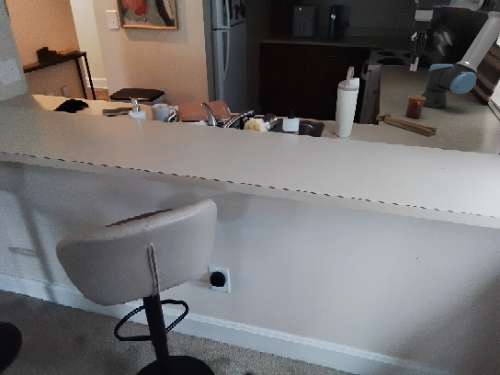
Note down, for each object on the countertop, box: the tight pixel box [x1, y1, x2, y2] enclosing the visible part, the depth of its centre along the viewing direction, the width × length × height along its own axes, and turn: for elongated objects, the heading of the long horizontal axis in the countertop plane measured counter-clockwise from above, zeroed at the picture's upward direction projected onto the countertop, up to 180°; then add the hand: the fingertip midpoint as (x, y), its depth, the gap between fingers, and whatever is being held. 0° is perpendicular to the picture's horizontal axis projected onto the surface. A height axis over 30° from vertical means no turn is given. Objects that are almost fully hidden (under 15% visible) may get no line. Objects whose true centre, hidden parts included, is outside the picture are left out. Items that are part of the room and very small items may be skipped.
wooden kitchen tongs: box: [375, 113, 432, 137], centre depth 184 cm, size 5×29×3 cm, turn 36°
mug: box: [405, 94, 426, 119], centre depth 197 cm, size 12×9×10 cm
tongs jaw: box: [390, 116, 438, 136], centre depth 183 cm, size 3×23×3 cm, turn 39°
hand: (412, 70), depth 194 cm, fingers closed
